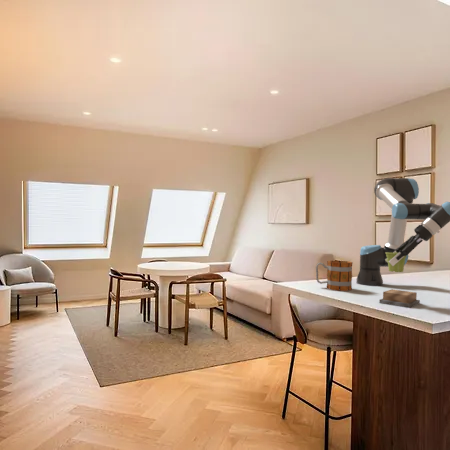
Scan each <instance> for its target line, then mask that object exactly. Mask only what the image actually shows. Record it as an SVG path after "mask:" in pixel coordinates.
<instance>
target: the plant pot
mask: <svg viewBox="0 0 450 450" xmlns="http://www.w3.org/2000/svg"><path fill="white" fill-rule="evenodd" d="M385 254H386V256H387V260H388V267H387V268H388V271H389V272H390V273H391V272H395V273H403V272H404V268H405V265H404V263H405V258H406V256H404V257H403V258H402V259H401V260H400V261H399V262H397V263H396V264H395V265H394V266H392V265H391V264H390V263H389V261H390V260H391V259H392V258H393V257H394V256H395V255H397V254H398V253H391V252H387V253H385Z"/></svg>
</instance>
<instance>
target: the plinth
mask: <svg viewBox="0 0 450 450" xmlns="http://www.w3.org/2000/svg"><path fill="white" fill-rule="evenodd" d="M417 297H418V296H417V291H416V292H414V291H408V290H402V289H401V290H400V289H392V288H391V289H388V290H385V291H383V292H382V298H381V299H379V302H378V303H379V304H382V305H383V304H385V305H391V306H397V307H398V306H399V307H402V308H403V307H404V308H411V307H414V306H417V305H419V304H420V303H421V301H420V299H417Z"/></svg>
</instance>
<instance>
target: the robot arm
mask: <svg viewBox="0 0 450 450" xmlns="http://www.w3.org/2000/svg"><path fill="white" fill-rule="evenodd" d="M419 192H420V188H419V184H418V182H417V181H416V179H414V178H410V177H408V178H407V177H404V178H402V177H393V178H392V177H387V178H383V179H380V180H378V181H377V183H376V184H375V186H374V187H373V193H374V195H375V197H376V199H377V198H378V199H379V200H381V201H383V202H384V203H385V204H386V205H387V206H388V207H389V208H391V217H390V225H389V231H388V238H387V242H385V243H384V245H383V246H384V247H382V246H381V244H373V245H372V244H369V245H363V246H361V248H360V249H359V271H358V274H357V277H356V281H355V282H356V284H360V285H363V286H364V285H365V286H383V285H384V281H383V276H382V273H381V267H382V268H385V267H386V268H388V260H387V256H386V254H385V253H387V252H391V253H398V254H397V255H395V256H394V257H393V258H392V259H391V260H390V261H389V263H390V264H391V265H392V266H394V265H395V264H396V263H397V262H399V261H400V260H401V259H402V258H403V257H404V256H406V258H405V263H404V266H406V264H407V262H408V260H409V254H410V253H412V251H413V250H414V249H416V247H418V245H420V244H421V243H422V242H423V241H424V242H427V241H429V240H430V239H431V238H433V235H434V236H435V234H439V233H440V230H442V229H443V228H444V227H445V226H446V225H447V224H449V223H450V201H445V202H444V203H442V204H441V205H439V204H435V203H433V202H432V203H431V202H428V203H414V200H416V199H417V198H418V197H419ZM408 220H422V221H421V223H420V224H418V226H416V227H415V228H414V229H413V230H414V233H415V235H411V236H410V237H408V239H407V240H406V241H405V235H406V229H407V222H408Z"/></svg>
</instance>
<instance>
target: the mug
mask: <svg viewBox="0 0 450 450" xmlns="http://www.w3.org/2000/svg"><path fill="white" fill-rule="evenodd" d="M326 264H327V265H325V264H324V263H322V262H321V261H320V262H318V263H317V264H316V266H315V277H316V281H317V283H318V284H320V285H322V284H326V289H329V291H330V290H331V291H339V292H343V291H344V292H349V291H351V290H352V289H353V287H352V286H353V285H352V281H353V268H352V267H353V262H352V261H348V260H327V263H326ZM320 265H321V266H322V267H323V268H325V269H327V270H326V280H323V281H320V279H319V266H320Z"/></svg>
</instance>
